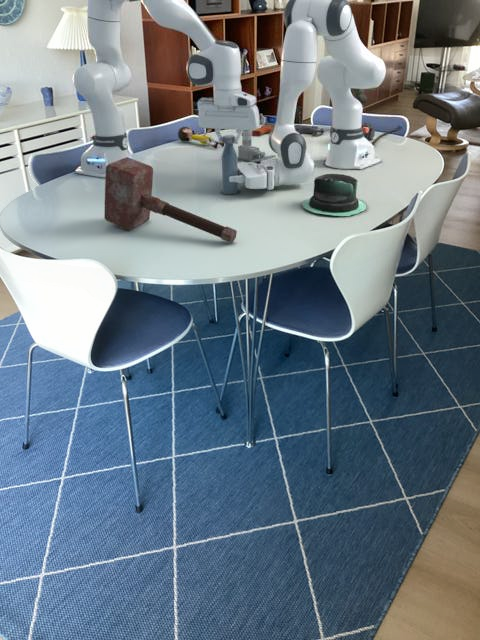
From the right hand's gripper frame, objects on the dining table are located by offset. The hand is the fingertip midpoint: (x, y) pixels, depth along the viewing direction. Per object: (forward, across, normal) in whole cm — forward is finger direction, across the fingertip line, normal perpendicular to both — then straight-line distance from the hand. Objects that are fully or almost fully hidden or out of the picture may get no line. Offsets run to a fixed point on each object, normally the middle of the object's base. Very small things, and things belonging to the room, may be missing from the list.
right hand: (227, 176), depth 187 cm
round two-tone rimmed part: (-30, +23, +6) cm, 38 cm away
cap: (-1, 0, -13) cm, 13 cm away
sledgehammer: (+22, +33, +6) cm, 40 cm away
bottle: (-1, 0, +6) cm, 6 cm away
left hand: (-1, 0, -11) cm, 11 cm away
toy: (-68, -54, +5) cm, 87 cm away
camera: (-18, -38, +5) cm, 42 cm away
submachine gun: (-42, -79, +5) cm, 90 cm away
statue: (-76, -79, +5) cm, 110 cm away
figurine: (0, -73, +5) cm, 73 cm away
